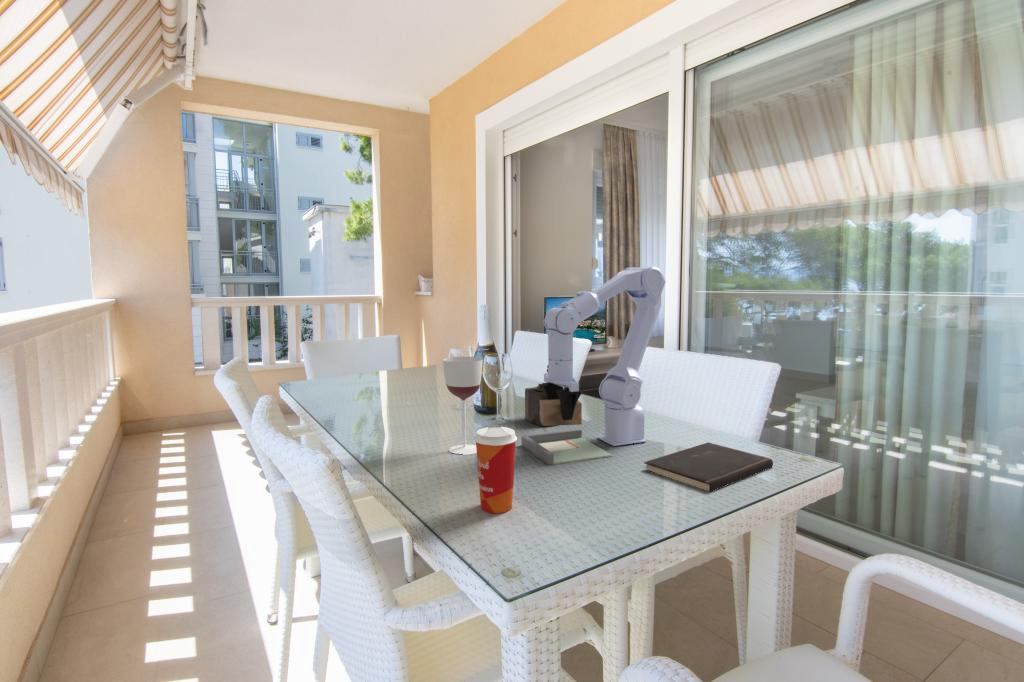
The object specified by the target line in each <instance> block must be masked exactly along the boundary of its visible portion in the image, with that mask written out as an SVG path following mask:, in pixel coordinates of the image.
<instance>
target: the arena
mask: <svg viewBox="0 0 1024 682" xmlns="http://www.w3.org/2000/svg"><path fill="white" fill-rule="evenodd" d="M582 431H583V430H582V429H581V428H575V429H567V430H561V431H560V430H559V431H558V430H556V431H549V432H541V433H534V434H525V435H521V446H522V447H524V448H525V449H526V450H527V451H529V452H530V453H531V454H533V455H534V456H535V457H537V458H539V459H540V460H541V461H542V462H544V463H545V464H546V465H548V466H555V465H558V464H559V465H560V464H567V463H575V462H581V461H582V462H583V461H589V460H596V459H601V458H610V457H613V454H612V453H610V452H608V451H606V450H604V448H600V447H599V446H597V445H595V444H593V443H592V442H591V441H588V440H587V439H585V438H583V437H582V436H583V434H582V433H583V432H582Z"/></svg>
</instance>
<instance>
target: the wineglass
mask: <svg viewBox="0 0 1024 682" xmlns="http://www.w3.org/2000/svg"><path fill="white" fill-rule="evenodd" d="M442 362H443V363H442V365H443V373H444V374H443V375H444V380H445V384H446V389H447V390H448V391H449V392H450V394H452V395H453V396H455V397H457V398H459V399H460V400H461V419H462V420H461V421H462V422H461V424H462V425H461V426H462V431H461V432H462V444H459V445H458V444H457V446H456V445H453V446H450V447H451V448H450V447H449V448H450V449H449V450H450V451H451V452H453V453H459V454H463V455H462V456H468V455H470V456H471V455H475V454H477V450H476V444H467V424H466V423H467V421H466V420H467V418H466V416H467V413H466V412H467V411H466V401H467V399H468V398H470V397H472V396H474V395H475V394H476V393H477V392H478V391H479V389H480V386H481V382H482V374H483V358H481V357H478V356H477V357H475V356H452V357H450V356H449V357H446V358H443V359H442Z"/></svg>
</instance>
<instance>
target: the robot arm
mask: <svg viewBox="0 0 1024 682" xmlns="http://www.w3.org/2000/svg"><path fill="white" fill-rule="evenodd" d="M665 285H666V280H665V277H664V274H663V273H662V271H661V270H660V268H659V267H658V266H648V267H647V266H645V267H634V266H633V267H632V266H631V267H630V266H629V267H626V268H624V270H621V271H619V272H617V274H616V275H614V276H613V277H612V278H610V279H609V280H607V281H606V282H604V283H603V284H601V285H600V286H599V287H598V288H596V289H595V290H593V291H592V292H591V291H589V290H588V291H587V290H585V291H584V290H583V291H581V290H579V291H577V292H576V293H575V294H576V296H574V297H573V298H571V299H570V300H567V301H563V302H561V305H560V307H553V308H550V309H549V310H548V311H547V313H546V315H545V317H544V319H543V320H542V322H543V323H542V324H543V326H544V328H545V330H546V331H547V342H548V343H547V346H548V347H547V351H548V352H547V354H548V355H547V357H548V358H547V361H548V364H547V366H548V368H547V369H548V372H546V373H543V383H546V382H547V383H546V384H542V383H540V384H541V388H542V389H543V391H544V394H545V396H546V400H553V399H559V400H560V404H561V412H562V418H563V420H572V417H573V413H574V409H575V406H576V403H577V401H579V399H580V397H581V396H582V394H583V393H582V390H581V389H580V383H579V382H577V381H576V379H575V377H574V376H573V375H574V373H573V372H574V368H573V367H574V357H573V355H574V354H573V353H574V348H573V347H574V342H573V341H574V336H573V335H574V334H573V333H574V332H575V331H576V330H577V329H578V325H579V324H580V323H582V322H583V321H584V320H586V319H589V318H590V317H592V315H594V314H596V313H598V311H599V309H600V305H601V304H603V303H604V302H606V301H608V300H609V299H611V298H613V297H615V296H618V295H619V294H620V293H622V292H625V293H626V294H627V295H628V296H629V297H630V299H631V300H632V301H633V302H634V304H635V305H636V310H635V313H634V315H633V318H632V321H631V324H630V326H629V329H628V332H627V335H626V338H625V340H624V343H623V345H622V349H621V352H620V355H619V357H618V360H617V363H616V365H615V366H613V367H612V368H610V369H609V370H608V371H607V374H606V375H605V377H604V379H602V381H601V382H600V384H599V387H598V393H599V396H600V398H601V399H602V400H603V405H604V431H603V432H604V434H603V435H598V436H597V439H599V440H601V441H603V442H605V443H607V444H609V445H611V446H612V447H617V446H625V445H633V443H634V444H640V443H646V442H647V440H646V439H645V413H644V410H643V408H642V407H641V405H639V404H638V403H639V401H640V399H641V392H642V391H641V389H642V384H643V380H642V378H641V376H640V374H639V371H640V370H639V369H640V367H641V364H642V362H643V358H644V356H645V352H646V350H647V347H648V345H649V341H650V339H651V335H652V333H653V331H654V327H655V324H656V322H657V320H658V316H659V313H660V310H661V308H662V307H661V306H662V294H663V290H664V288H665ZM563 388H564V390H563Z"/></svg>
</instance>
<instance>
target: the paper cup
mask: <svg viewBox="0 0 1024 682" xmlns="http://www.w3.org/2000/svg"><path fill="white" fill-rule="evenodd" d="M473 440H474V442H475V445H476V450H477V453H476V459H477V460H476V461H477V474H478V487H479V498H480V508H481V510H482V511H483V512H484V513H488V514H493V515H494V514H495V515H497V514H504V513H508V512H510V511H511V510H512V508H513V500H514V499H513V498H514V497H513V496H514V483H515V482H514V479H515V460H516V458H515V456H516V442H517V440H518V437H517V436H516V432H515V430H514V429H512V428H510V427H505V426H500V427H498V426H491V427H488V426H487V427H481V428H480V429H478V430H477V431H476V434H475V436H474V438H473Z"/></svg>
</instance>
